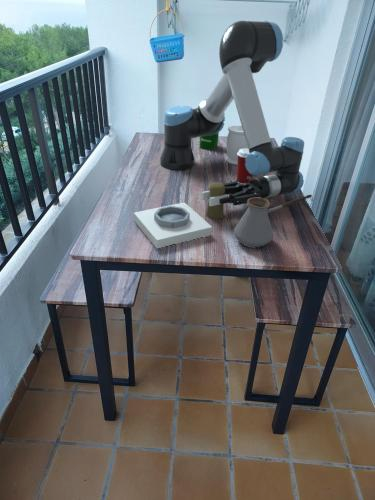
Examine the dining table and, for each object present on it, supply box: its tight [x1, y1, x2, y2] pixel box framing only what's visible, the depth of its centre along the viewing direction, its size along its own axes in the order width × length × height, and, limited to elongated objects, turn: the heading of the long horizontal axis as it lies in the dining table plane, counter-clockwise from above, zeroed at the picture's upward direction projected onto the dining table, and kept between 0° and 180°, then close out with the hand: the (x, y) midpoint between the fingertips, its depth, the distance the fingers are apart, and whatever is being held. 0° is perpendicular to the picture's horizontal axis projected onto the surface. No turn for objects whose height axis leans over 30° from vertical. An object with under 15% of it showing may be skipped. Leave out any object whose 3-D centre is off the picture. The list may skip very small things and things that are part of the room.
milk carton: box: [199, 132, 220, 151], centre depth 175 cm, size 9×9×20 cm
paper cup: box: [236, 148, 254, 184], centre depth 138 cm, size 8×8×14 cm
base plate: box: [133, 202, 213, 250], centre depth 111 cm, size 18×18×5 cm
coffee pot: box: [233, 194, 314, 248], centre depth 104 cm, size 21×12×15 cm, turn 96°
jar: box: [226, 125, 248, 166], centre depth 160 cm, size 11×10×15 cm
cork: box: [205, 182, 225, 220], centre depth 118 cm, size 6×6×11 cm
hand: (206, 199), depth 115 cm, fingers closed on cork, 4 cm apart
